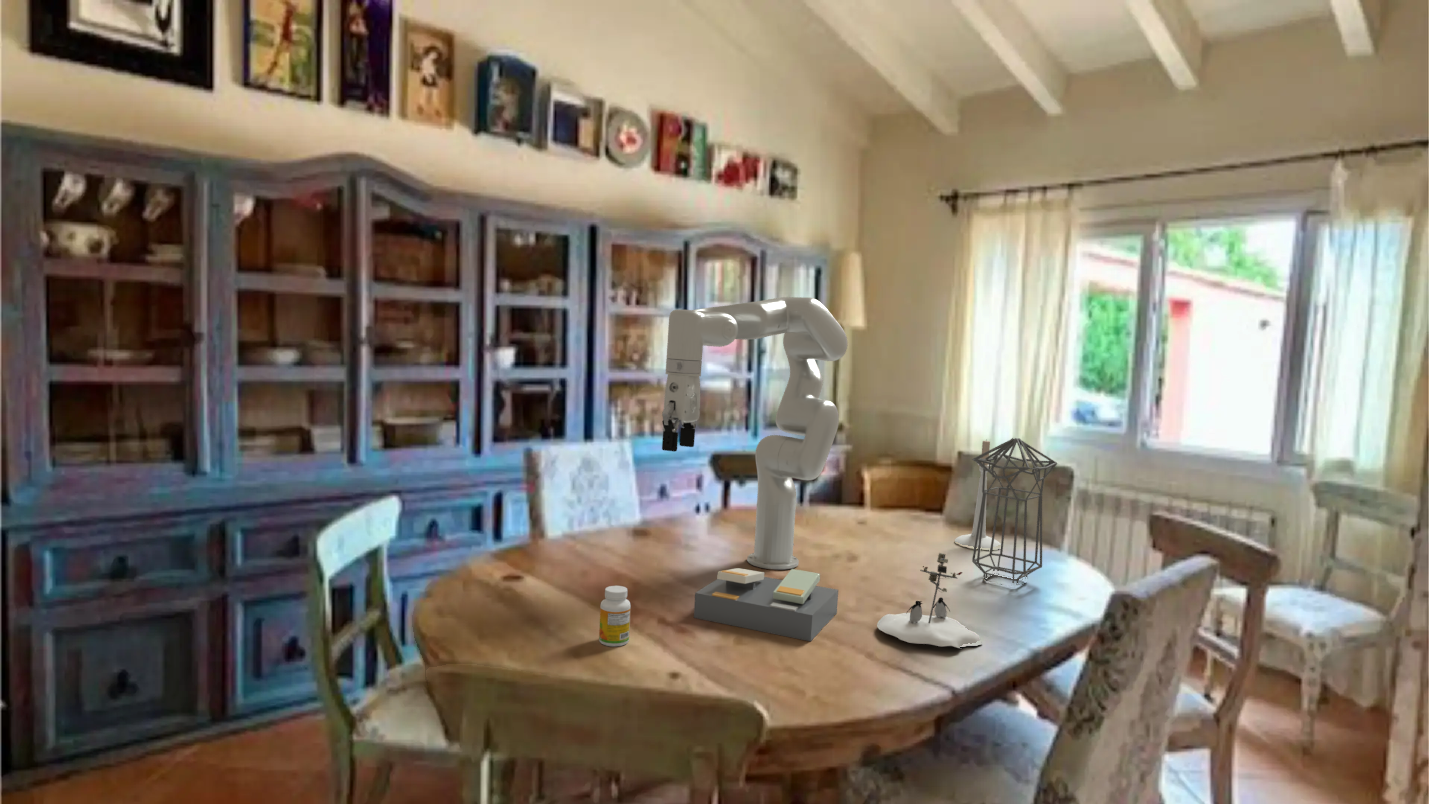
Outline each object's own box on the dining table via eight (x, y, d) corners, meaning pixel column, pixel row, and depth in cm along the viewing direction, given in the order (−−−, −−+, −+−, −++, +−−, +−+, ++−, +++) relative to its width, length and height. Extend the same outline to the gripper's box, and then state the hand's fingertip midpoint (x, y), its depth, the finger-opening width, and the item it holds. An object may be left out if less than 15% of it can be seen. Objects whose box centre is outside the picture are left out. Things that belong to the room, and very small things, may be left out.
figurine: (914, 655, 152) (927, 565, 151) (858, 621, 168) (870, 541, 168) (1000, 653, 160) (1013, 568, 159) (938, 622, 176) (950, 545, 176)
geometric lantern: (1049, 584, 203) (1062, 440, 200) (1022, 597, 192) (1035, 444, 189) (987, 569, 214) (999, 432, 211) (958, 580, 203) (969, 435, 199)
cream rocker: (737, 574, 179) (737, 567, 179) (763, 579, 176) (764, 571, 177) (717, 578, 169) (718, 570, 169) (745, 583, 166) (746, 575, 166)
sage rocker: (791, 575, 174) (791, 567, 173) (820, 580, 171) (820, 572, 171) (773, 598, 164) (773, 591, 164) (803, 604, 162) (803, 596, 161)
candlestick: (1006, 544, 241) (1015, 440, 238) (995, 553, 230) (1004, 444, 227) (961, 536, 248) (969, 435, 245) (948, 545, 237) (956, 438, 234)
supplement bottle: (599, 635, 155) (601, 583, 154) (629, 636, 156) (631, 584, 155) (598, 646, 150) (600, 593, 149) (628, 647, 150) (631, 594, 149)
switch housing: (729, 593, 184) (730, 565, 183) (836, 613, 174) (838, 584, 174) (693, 617, 167) (695, 587, 167) (810, 641, 158) (812, 609, 157)
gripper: (685, 370, 170) (679, 454, 172) (713, 369, 187) (708, 446, 188) (650, 367, 173) (645, 450, 174) (682, 366, 189) (677, 443, 190)
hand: (678, 448), depth 181 cm, fingers open, 9 cm apart
